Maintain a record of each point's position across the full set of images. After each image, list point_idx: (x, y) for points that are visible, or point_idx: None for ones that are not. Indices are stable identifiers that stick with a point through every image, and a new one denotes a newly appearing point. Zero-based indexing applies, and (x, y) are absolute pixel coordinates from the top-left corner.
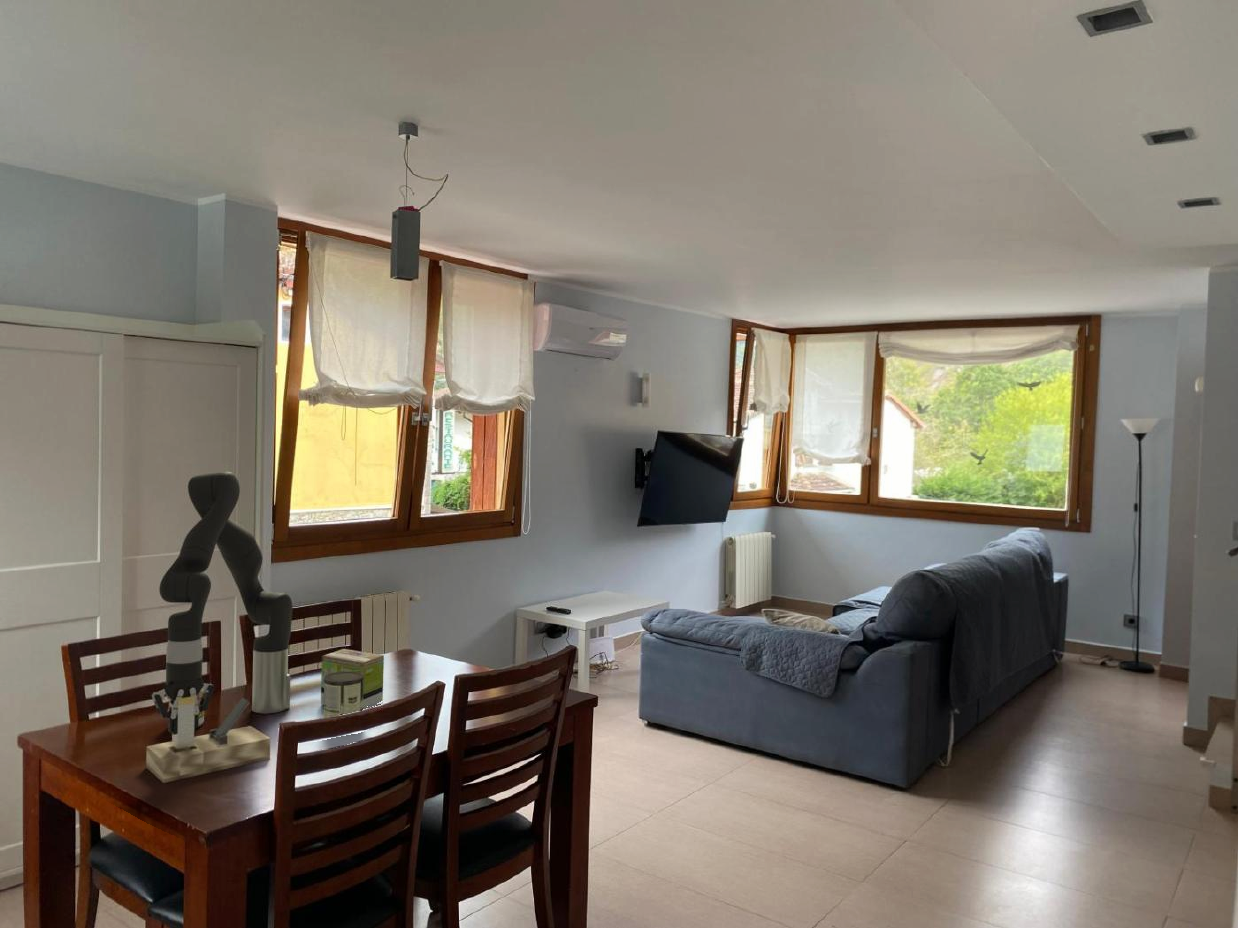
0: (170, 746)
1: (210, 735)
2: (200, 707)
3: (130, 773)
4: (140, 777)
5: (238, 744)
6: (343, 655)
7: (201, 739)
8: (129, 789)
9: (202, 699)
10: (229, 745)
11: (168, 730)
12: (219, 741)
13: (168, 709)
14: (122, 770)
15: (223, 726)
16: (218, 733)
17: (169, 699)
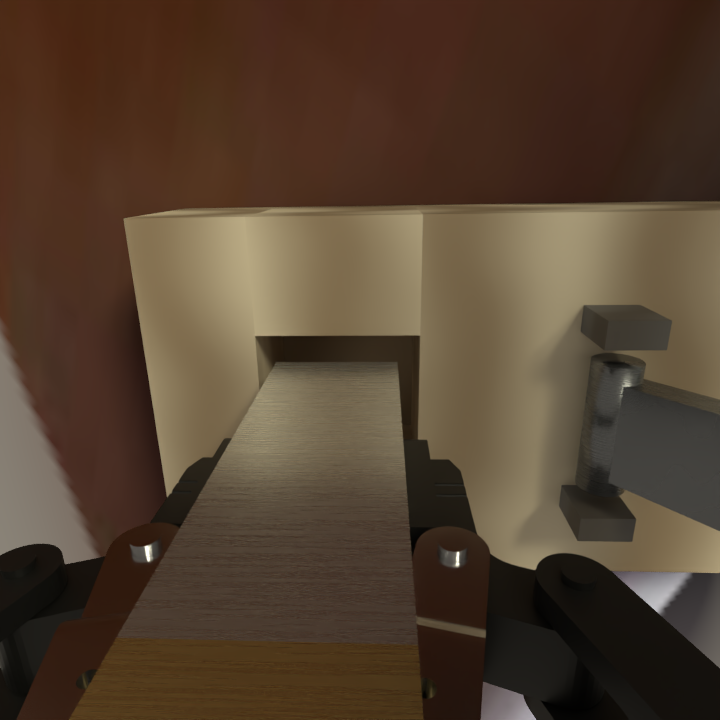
0: (275, 331)
1: (589, 327)
2: (515, 684)
3: (94, 250)
4: (134, 347)
5: (650, 562)
6: None
7: (513, 314)
8: (69, 470)
9: (626, 695)
10: (598, 545)
11: (197, 463)
12: (567, 501)
13: (93, 593)
14: (58, 167)
15: (690, 458)
16: (618, 438)
17: None
